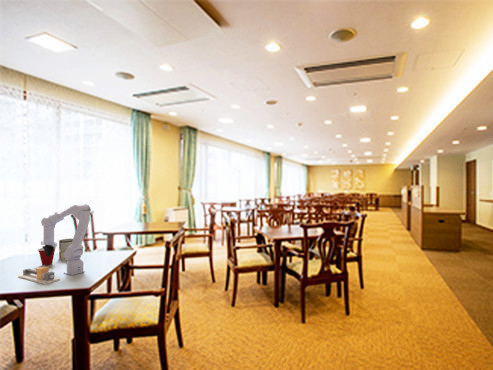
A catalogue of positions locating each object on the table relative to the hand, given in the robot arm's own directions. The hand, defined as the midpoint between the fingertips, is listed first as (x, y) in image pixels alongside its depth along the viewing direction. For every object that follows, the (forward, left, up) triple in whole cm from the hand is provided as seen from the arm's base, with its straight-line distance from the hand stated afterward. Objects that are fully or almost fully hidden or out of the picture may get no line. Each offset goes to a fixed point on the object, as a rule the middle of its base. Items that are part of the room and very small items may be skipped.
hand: (48, 256), depth 180 cm
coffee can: (+22, -25, -10) cm, 35 cm away
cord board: (-11, +12, -9) cm, 18 cm away
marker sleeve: (-15, +12, -8) cm, 21 cm away
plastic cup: (+17, -8, -10) cm, 21 cm away
